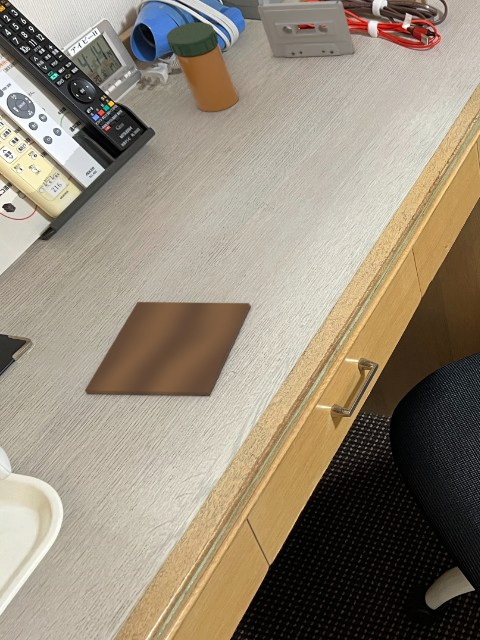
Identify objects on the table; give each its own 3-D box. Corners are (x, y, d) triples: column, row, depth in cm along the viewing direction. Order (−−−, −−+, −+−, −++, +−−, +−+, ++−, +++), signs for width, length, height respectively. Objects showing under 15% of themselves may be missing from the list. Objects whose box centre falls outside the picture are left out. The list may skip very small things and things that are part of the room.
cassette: (355, 49, 123) (342, -2, 117) (353, 55, 122) (340, 4, 116) (275, 52, 123) (258, 2, 117) (272, 58, 122) (255, 8, 116)
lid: (164, 56, 106) (158, 43, 105) (181, 34, 110) (176, 22, 109) (209, 56, 106) (203, 43, 105) (224, 34, 110) (220, 21, 109)
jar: (190, 111, 112) (161, 46, 105) (205, 90, 116) (178, 25, 109) (230, 111, 112) (204, 46, 105) (244, 90, 116) (219, 25, 109)
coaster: (86, 393, 78) (84, 390, 78) (139, 305, 87) (137, 301, 86) (209, 395, 78) (207, 392, 78) (250, 306, 86) (249, 302, 86)
